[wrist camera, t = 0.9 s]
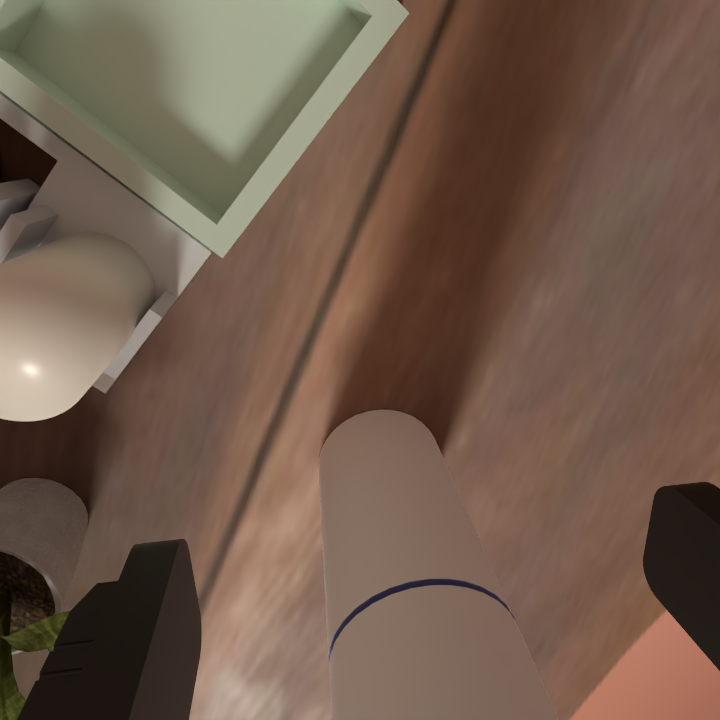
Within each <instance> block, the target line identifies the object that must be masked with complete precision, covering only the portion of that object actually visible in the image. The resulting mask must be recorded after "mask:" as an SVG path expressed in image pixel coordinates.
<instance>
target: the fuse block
mask: <svg viewBox="0 0 720 720" xmlns="http://www.w3.org/2000/svg"><path fill="white" fill-rule="evenodd" d="M0 119H2V120H3V121H4V122H6V123H7V124H9V125H10V126H11V127H13V128H14V129H15V130H17V131H18V132H19V133H21V134H22V135H23V136H25V137H26V138H28V139H29V140H30V141H32V142H33V143H34V144H36V145H37V146H38V147H40V148H41V149H42V150H44V151H45V152H47V153H48V154H49V155H51V156H52V157H53V158H55V159H56V160H57V163H56V164H55V166H54V168H53V169H52V171H51V172H50V174H49V175H48V177H47V179H46V180H45V182H44V183H43V185H42V187H40V186H38V185H37V184H36V183H34V182H33V181H31V180H30V179H23V180H16V181H10V182H4V183H0V418H1V419H5V420H12V421H24V422H26V421H38V420H44V419H48V418H51V417H55V416H57V415H59V414H61V413H63V412H65V411H67V410H68V409H70V408H71V407H72V406H74V405H75V404H76V403H77V402H78V401H79V400H80V399H81V398H82V396H83V395H84V394H85V393H86V392H87V391H88V389H89V388H90V387H91V386H94V387H95V388H97V389H99V390H100V391H102V392H104V393H106V392H107V391H108V389H109V388H110V387H111V385H112V384H113V383H114V382H115V380H116V379H117V378H118V376H119V375H120V374H121V372H122V371H123V370H124V368H125V367H126V366H127V364H128V363H129V362H130V360H131V359H132V358H133V356H134V355H135V354H136V352H137V351H138V350H139V348H140V347H141V346H142V344H143V343H144V342H145V340H146V339H147V338H148V336H149V335H150V334H151V332H152V331H153V330H154V328H155V327H156V326H157V324H158V323H159V322H160V320H161V319H162V318H163V316H164V315H165V314H166V312H167V311H168V310H169V309H170V307H171V306H172V305H173V303H174V302H175V301H176V299H177V298H178V297H179V295H180V294H181V293H182V291H183V290H184V289H185V287H186V286H187V285H188V283H189V282H190V281H191V279H192V278H193V277H194V275H195V274H196V273H197V271H198V270H199V269H200V267H201V266H202V265H203V263H204V262H205V261H206V259H207V258H208V257H209V255H210V254H211V253H212V250H211V249H210V248H208V247H207V246H206V245H204V244H203V243H202V242H200V241H199V240H198V239H196V238H195V237H194V236H192V235H191V234H190V233H188V232H187V231H186V230H184V229H183V228H182V227H181V226H179V225H178V224H177V223H175V222H174V221H173V220H171V219H170V218H169V217H167V216H166V215H165V214H163V213H162V212H161V211H159V210H158V209H157V208H155V207H154V206H153V205H151V204H150V203H149V202H147V201H146V200H145V199H143V198H142V197H141V196H139V195H138V194H137V193H135V192H134V191H133V190H131V189H130V188H129V187H127V186H126V185H125V184H123V183H122V182H121V181H119V180H118V179H117V178H115V177H114V176H113V175H111V174H110V173H109V172H107V171H106V170H105V169H103V168H102V167H101V166H100V165H98V164H97V163H96V162H94V161H93V160H92V159H90V158H89V157H88V156H86V155H85V154H84V153H82V152H81V151H80V150H78V149H77V148H76V147H74V146H73V145H72V144H70V143H69V142H68V141H66V140H65V139H64V138H62V137H61V136H60V135H58V134H57V133H56V132H54V131H53V130H52V129H50V128H49V127H48V126H46V125H45V124H44V123H42V122H41V121H40V120H38V119H37V118H36V117H34V116H33V115H32V114H30V113H29V112H28V111H26V110H25V109H24V108H22V107H21V106H20V105H18V104H17V103H16V102H15V101H13V100H12V99H11V98H9V97H8V96H7V95H5V94H4V93H3V92H1V91H0Z"/></svg>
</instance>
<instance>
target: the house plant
mask: <svg viewBox="0 0 720 720" xmlns="http://www.w3.org/2000/svg"><path fill="white" fill-rule="evenodd" d="M88 518H89V517H88V513H87V509H86V507H85V505H84V503H83V502H82V500H81V498H80V497H79V496H77V495H76V494H75V493H74V492H73V491H72V490H71V489H69V488H67V487H66V486H64V485H62V484H60V483H57V482H55V481H52V480H49V479H42V478H23V479H20V480H16V481H13V482H11V483H9V484H7V485H6V486H4V487H2V488H1V489H0V720H17V718H18V716H19V714H20V712H21V710H22V708H23V706H24V704H25V702H26V699H25V698H24V697H23V696H22V695H21V693H20V692H19V690H18V687H17V683H16V680H15V676H14V673H13V664H12V655H13V654H16V653H20V652H23V651H25V652H32V651H38V650H43V649H48V650H49V651H50V652H51V651H53V649H52V648H51V647H53V646H54V643H55V641H56V639H57V637H58V635H59V633H60V631H61V628H62V626H63V624H64V622H65V620H66V618H67V616H68V614H69V612H70V611H68V612H63V611H64V607H65V604H66V600H67V597H68V593H69V590H70V586H71V583H72V579H73V576H74V572H75V569H76V565H77V562H78V558H79V555H80V551H81V548H82V544H83V541H84V537H85V534H86V531H87V527H88Z"/></svg>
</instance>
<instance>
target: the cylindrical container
mask: <svg viewBox="0 0 720 720" xmlns="http://www.w3.org/2000/svg"><path fill="white" fill-rule="evenodd" d="M318 468H319V487H320V506H321V525H322V543H323V562H324V581H325V600H326V618H327V637H328V656H329V675H330V694H331V713H332V720H559V718H558V716H557V714H556V711H555V709H554V707H553V705H552V702H551V700H550V698H549V696H548V693H547V691H546V689H545V686H544V684H543V682H542V680H541V677H540V675H539V673H538V671H537V668H536V666H535V664H534V661H533V659H532V657H531V655H530V652H529V650H528V648H527V646H526V643H525V641H524V639H523V637H522V634H521V632H520V630H519V627H518V625H517V623H516V622H515V619H514V616H513V614H512V612H511V609H510V607H509V605H508V603H507V600H506V598H505V596H504V594H503V591H502V589H501V587H500V585H499V582H498V580H497V578H496V576H495V573H494V571H493V569H492V567H491V564H490V562H489V560H488V558H487V555H486V553H485V551H484V549H483V546H482V544H481V542H480V540H479V537H478V535H477V533H476V531H475V528H474V526H473V524H472V522H471V519H470V517H469V515H468V513H467V510H466V508H465V506H464V504H463V501H462V499H461V497H460V495H459V492H458V490H457V488H456V485H455V483H454V481H453V479H452V476H451V474H450V472H449V470H448V467H447V465H446V463H445V460H444V458H443V456H442V454H441V451H440V449H439V447H438V444H437V442H436V440H435V438H434V437H433V435H432V433H431V431H430V430H429V429H428V428H427V427H426V426H425V425H424V424H423V423H422V422H421V421H419V420H418V419H416V418H415V417H413V416H411V415H408V414H406V413H403V412H399V411H395V410H373V411H367V412H364V413H361V414H357V415H355V416H353V417H351V418H349V419H347V420H346V421H344V422H343V423H341V424H340V425H339V426H338V427H336V428H335V429H334V430H333V432H332V433H331V434H330V435H329V436H328V438H327V439H326V441H325V443H324V445H323V447H322V449H321V453H320V456H319V466H318Z"/></svg>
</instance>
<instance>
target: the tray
mask: <svg viewBox="0 0 720 720" xmlns="http://www.w3.org/2000/svg"><path fill="white" fill-rule="evenodd" d="M408 14H409V12H408V11H407V10H406V9H405V8H404V7H403V6H402V5H401V4H400V3H399V1H398V0H0V91H1V92H3V93H4V94H5V95H7V96H8V97H9V98H11V99H12V100H13V101H15V102H16V103H17V104H18V105H20V106H21V107H22V108H24V109H25V110H26V111H28V112H29V113H30V114H32V115H33V116H34V117H36V118H37V119H38V120H40V121H41V122H42V123H44V124H45V125H46V126H48V127H49V128H50V129H52V130H53V131H54V132H56V133H57V134H58V135H60V136H61V137H62V138H64V139H65V140H66V141H68V142H69V143H70V144H72V145H73V146H74V147H76V148H77V149H78V150H80V151H81V152H82V153H84V154H85V155H86V156H88V157H89V158H90V159H92V160H93V161H94V162H96V163H97V164H98V165H100V166H101V167H102V168H103V169H105V170H106V171H107V172H109V173H110V174H111V175H113V176H114V177H115V178H117V179H118V180H119V181H121V182H122V183H123V184H125V185H126V186H127V187H129V188H130V189H131V190H133V191H134V192H135V193H137V194H138V195H139V196H141V197H142V198H143V199H145V200H146V201H147V202H149V203H150V204H151V205H153V206H154V207H155V208H157V209H158V210H159V211H161V212H162V213H163V214H165V215H166V216H167V217H169V218H170V219H171V220H173V221H174V222H175V223H177V224H178V225H179V226H181V227H182V228H183V229H184V230H186V231H187V232H188V233H190V234H191V235H192V236H194V237H195V238H196V239H198V240H199V241H200V242H202V243H203V244H204V245H206V246H207V247H208V248H210V249H211V250H212V251H214V252H215V253H216V254H218V255H219V256H220V257H222V258H223V257H224V256H225V254H226V253H227V252H228V250H229V249H230V248H231V247H232V245H233V244H234V243H235V241H236V240H237V239H238V237H239V236H240V235H241V233H242V232H243V231H244V229H245V228H246V227H247V226H248V224H249V223H250V222H251V220H252V219H253V218H254V216H255V215H256V214H257V212H258V211H259V210H260V209H261V207H262V206H263V205H264V203H265V202H266V201H267V199H268V198H269V197H270V195H271V194H272V193H273V191H274V190H275V189H276V188H277V186H278V185H279V184H280V182H281V181H282V180H283V178H284V177H285V176H286V174H287V173H288V172H289V170H290V169H291V168H292V167H293V165H294V164H295V163H296V161H297V160H298V159H299V157H300V156H301V155H302V153H303V152H304V151H305V149H306V148H307V147H308V146H309V144H310V143H311V142H312V140H313V139H314V138H315V136H316V135H317V134H318V132H319V131H320V130H321V128H322V127H323V126H324V125H325V123H326V122H327V121H328V119H329V118H330V117H331V115H332V114H333V113H334V111H335V110H336V109H337V107H338V106H339V105H340V104H341V102H342V101H343V100H344V98H345V97H346V96H347V94H348V93H349V92H350V90H351V89H352V88H353V86H354V85H355V84H356V83H357V81H358V80H359V79H360V77H361V76H362V75H363V73H364V72H365V71H366V69H367V68H368V67H369V65H370V64H371V63H372V62H373V60H374V59H375V58H376V56H377V55H378V54H379V52H380V51H381V50H382V48H383V47H384V46H385V44H386V43H387V42H388V41H389V39H390V38H391V37H392V35H393V34H394V33H395V31H396V30H397V29H398V27H399V26H400V25H401V24H402V22H403V21H404V20H405V18H406V17H407V16H408Z"/></svg>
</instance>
